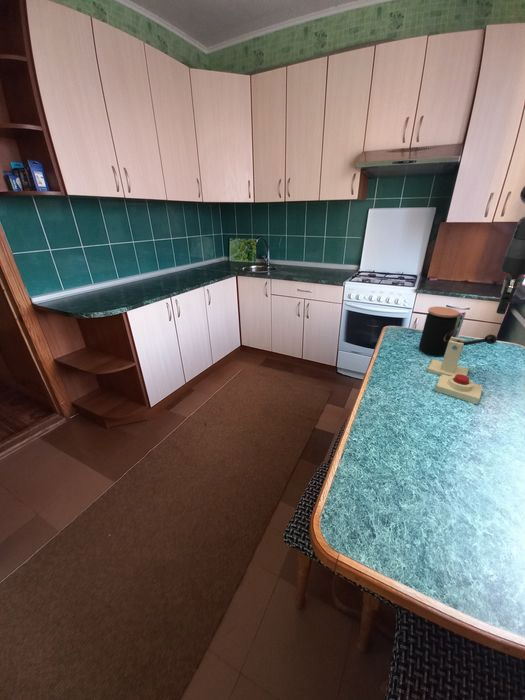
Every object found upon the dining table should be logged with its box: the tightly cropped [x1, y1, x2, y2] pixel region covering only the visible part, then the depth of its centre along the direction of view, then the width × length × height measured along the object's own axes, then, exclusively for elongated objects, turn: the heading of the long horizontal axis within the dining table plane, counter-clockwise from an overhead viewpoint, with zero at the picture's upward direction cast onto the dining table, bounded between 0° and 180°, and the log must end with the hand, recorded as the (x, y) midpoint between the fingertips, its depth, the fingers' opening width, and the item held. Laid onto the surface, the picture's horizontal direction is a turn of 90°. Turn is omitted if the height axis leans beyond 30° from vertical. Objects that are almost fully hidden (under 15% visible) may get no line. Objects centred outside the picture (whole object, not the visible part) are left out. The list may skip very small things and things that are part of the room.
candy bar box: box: [436, 305, 467, 338], centre depth 123 cm, size 11×5×16 cm, turn 45°
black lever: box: [454, 333, 498, 347], centre depth 99 cm, size 13×3×3 cm, turn 50°
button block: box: [434, 374, 484, 405], centre depth 96 cm, size 12×9×4 cm
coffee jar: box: [418, 306, 459, 357], centre depth 118 cm, size 11×11×18 cm
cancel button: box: [454, 374, 471, 385], centre depth 95 cm, size 4×4×2 cm
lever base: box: [426, 337, 470, 377], centre depth 105 cm, size 12×9×13 cm
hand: (500, 312), depth 91 cm, fingers closed
